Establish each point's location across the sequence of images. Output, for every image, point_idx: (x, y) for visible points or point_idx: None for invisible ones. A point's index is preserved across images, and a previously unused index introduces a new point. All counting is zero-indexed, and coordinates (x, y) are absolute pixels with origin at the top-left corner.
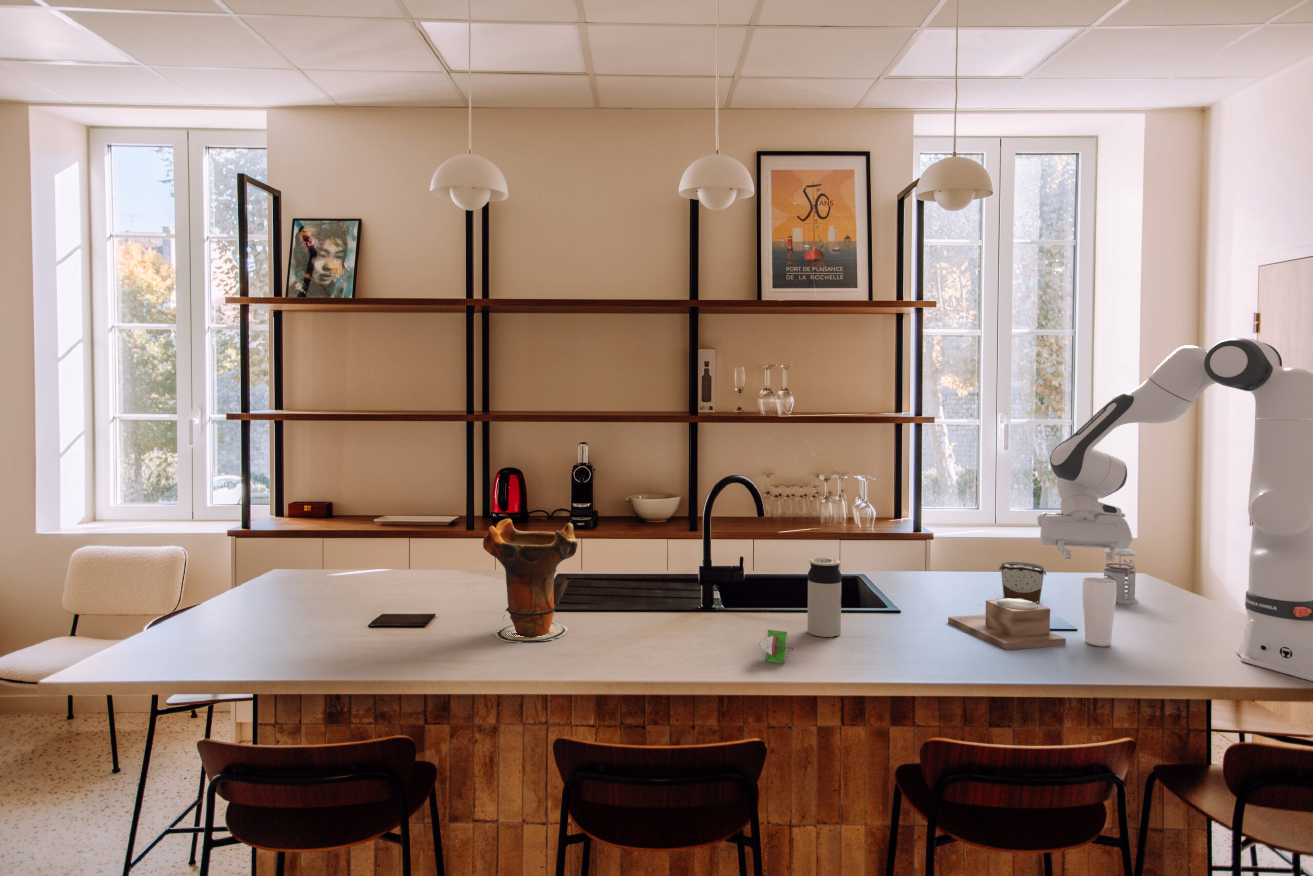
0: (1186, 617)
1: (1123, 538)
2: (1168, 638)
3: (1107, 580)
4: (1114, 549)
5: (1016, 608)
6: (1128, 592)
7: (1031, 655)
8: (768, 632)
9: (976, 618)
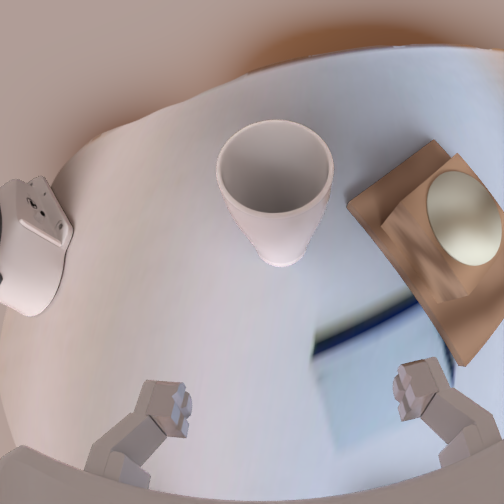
0: None
1: (32, 469)
2: (129, 345)
3: (238, 203)
4: (118, 429)
5: (459, 173)
6: None
7: (393, 131)
8: None
9: (502, 288)
